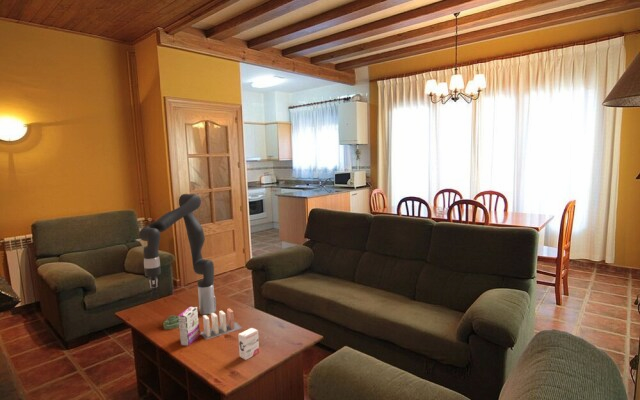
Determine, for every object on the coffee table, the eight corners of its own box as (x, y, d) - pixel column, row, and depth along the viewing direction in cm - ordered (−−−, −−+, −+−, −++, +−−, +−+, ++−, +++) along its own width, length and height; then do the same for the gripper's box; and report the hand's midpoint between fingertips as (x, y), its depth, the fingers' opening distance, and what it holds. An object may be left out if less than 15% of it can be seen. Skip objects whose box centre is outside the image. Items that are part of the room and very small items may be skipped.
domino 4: (230, 324, 207) (229, 308, 206) (234, 328, 202) (233, 311, 201) (227, 325, 206) (226, 308, 205) (231, 329, 201) (230, 312, 200)
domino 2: (215, 329, 202) (213, 312, 200) (218, 333, 197) (217, 316, 196) (212, 330, 201) (211, 313, 200) (215, 334, 196) (214, 316, 195)
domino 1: (207, 332, 199) (205, 314, 198) (210, 336, 195) (209, 318, 193) (204, 333, 198) (202, 315, 197) (207, 337, 194) (206, 319, 192)
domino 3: (223, 327, 204) (221, 310, 203) (226, 331, 200) (225, 313, 199) (220, 328, 203) (219, 311, 202) (223, 332, 199) (222, 314, 198)
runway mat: (235, 322, 211) (235, 321, 211) (242, 328, 203) (242, 328, 203) (199, 333, 199) (199, 332, 199) (205, 340, 191) (205, 339, 191)
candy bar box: (191, 335, 197) (189, 306, 195) (200, 335, 196) (198, 306, 194) (180, 345, 186) (177, 315, 184) (188, 346, 185) (186, 316, 183)
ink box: (253, 349, 181) (251, 326, 180) (259, 352, 178) (258, 329, 176) (239, 356, 175) (237, 333, 173) (245, 360, 171) (244, 336, 170)
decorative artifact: (159, 327, 208) (170, 331, 202) (158, 315, 207) (169, 319, 201) (175, 320, 216) (186, 324, 211) (174, 309, 215) (185, 312, 210)
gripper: (160, 268, 184) (163, 299, 186) (159, 261, 197) (162, 290, 199) (144, 270, 181) (146, 302, 183) (144, 263, 193) (146, 292, 195)
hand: (154, 295), depth 191 cm, fingers open, 8 cm apart
